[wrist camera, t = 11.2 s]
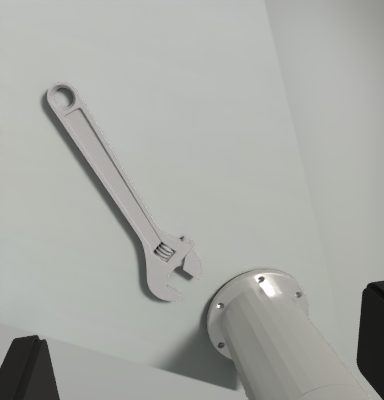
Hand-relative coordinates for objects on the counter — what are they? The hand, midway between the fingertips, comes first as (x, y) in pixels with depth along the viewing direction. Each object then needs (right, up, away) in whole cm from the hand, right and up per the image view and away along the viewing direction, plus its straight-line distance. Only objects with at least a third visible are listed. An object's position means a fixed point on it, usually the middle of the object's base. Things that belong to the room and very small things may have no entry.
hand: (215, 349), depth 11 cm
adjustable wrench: (-6, +5, +27) cm, 28 cm away
